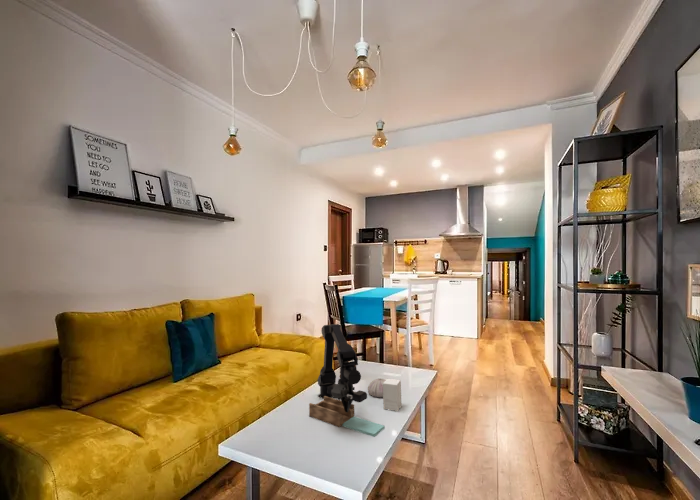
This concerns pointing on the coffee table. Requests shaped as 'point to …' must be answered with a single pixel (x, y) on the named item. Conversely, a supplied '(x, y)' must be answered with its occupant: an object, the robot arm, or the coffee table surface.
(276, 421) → the coffee table surface
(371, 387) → the sea urchin shell
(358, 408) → the coffee table surface
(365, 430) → the cover plate
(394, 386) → the supplement box
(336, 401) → the brown wooden box
